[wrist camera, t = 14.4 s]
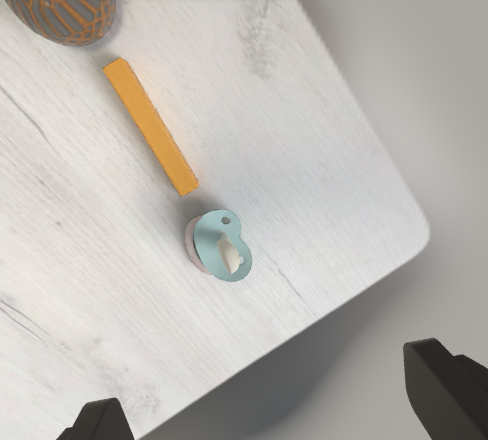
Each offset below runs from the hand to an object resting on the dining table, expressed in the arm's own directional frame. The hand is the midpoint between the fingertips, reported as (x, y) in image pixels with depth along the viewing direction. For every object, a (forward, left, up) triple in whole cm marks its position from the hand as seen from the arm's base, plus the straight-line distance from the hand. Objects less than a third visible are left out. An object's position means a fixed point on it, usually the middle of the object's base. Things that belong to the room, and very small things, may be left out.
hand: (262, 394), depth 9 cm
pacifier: (+3, +4, -23) cm, 24 cm away
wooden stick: (+6, -8, -23) cm, 25 cm away
